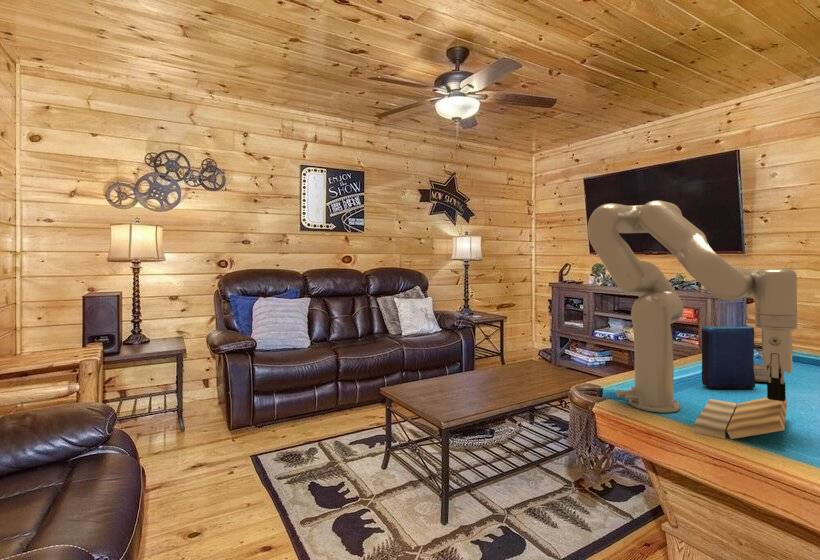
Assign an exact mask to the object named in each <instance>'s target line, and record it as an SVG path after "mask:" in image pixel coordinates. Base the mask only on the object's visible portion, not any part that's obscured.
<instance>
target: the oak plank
mask: <svg viewBox="0 0 820 560" xmlns="http://www.w3.org/2000/svg"><path fill="white" fill-rule="evenodd" d="M787 409H788V401H787V398H786V399H785V401H777V400H770V399H768V398H767V397H762V398H758V399H753V400H749V401H748V400H747V401H744V402H739V403H737V408H736V410H735V412H734V414H733V417H732V419H731V421H730V423H729V426H728V428H727V435H728V436H729V438H730V439H731V440H732V439H733V440H734V439H740V438H746V437H751V436H758V435H764V434H765V435H766V434H770V433H777V432H782V431H785V425H786V419H787V418H786V417H787Z"/></svg>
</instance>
